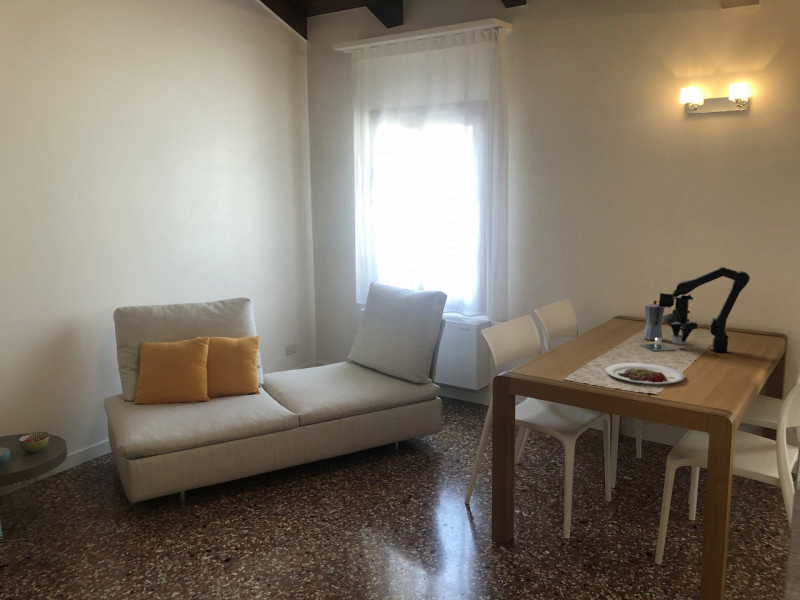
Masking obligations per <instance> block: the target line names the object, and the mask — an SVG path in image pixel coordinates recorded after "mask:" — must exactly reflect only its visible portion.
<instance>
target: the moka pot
mask: <svg viewBox="0 0 800 600" xmlns="http://www.w3.org/2000/svg"><path fill="white" fill-rule="evenodd" d="M657 302H658V301H657V300H653V303H651V304H646V305H644V311H645V321H646V324H645V329H644V335H643V339H645V340H649V341H655V338H656V337H660V338H662V339H663V330H662V321H663V316H664V314H665V313H664V312H665V308H666V307H659V303H658V304H657Z"/></svg>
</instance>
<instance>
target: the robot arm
mask: <svg viewBox="0 0 800 600" xmlns="http://www.w3.org/2000/svg"><path fill="white" fill-rule="evenodd" d="M721 277H723V278H724V277H725V278H727V279H729V280H732V284H731V288H730V291H729V292H728V294H727V297H726V299H725V301H724V303H723V305H722V307H721V309H720V311H719V314H718V315H717V316H716V317H714V316H712V318H711V322H710V323H709V324H708V326H709V331H710V334H711V335H712V336H714V337H713V339H712V348H709V351H711V352H714V353H717V354H725V353H731V351H730V350H728V347H729V346H728V344H729V340H728V339H729V334H728V332H727V331H726V325H727V320H728V317H729V315H730V313H731V311H732V309H733V308H734V306H735V304H736V301H737V299H738V297H739V295H740V293H741V292H742V290H744V288H745V287H746V286H748V284H749V282H750V279H751V278H750V275H749V274H748V273H747V272H746V271H744V270H740V271H737V270H732V269H730V268H726V267H725V266H720V267H719V268H717V269H714V270H712V271H710V272H708V273H705V274H702V275H701V276H698V277H695V278H693V279H687V280H683V281H680V282H678V283H677V284H676V289H674V291H673V292H672V293H664V292H660V293H659V299H658V305H659V307H665V308H668V309H669V308H672V306H674V305H675V306H674V309H673V310H672V313H668V314H666V315H663V319H662V321H663V324H666V325H668V326H669V327H671V330H672V333H673V335H680V331H681V335H682V341H683V342H685V340H686V339H687V340H688V337H689V336H690V334H691V333H692V331H694V330H698V323H697V322H695V321H690V319H689V318H688V317H689V316H688V315H689V314H690V313H691V310H689V302H690V300H691V301H693V300H694V297H693V296H691V294H690V293H691V292H692V291H694V290H695V289H696V288H698V287H700V286H702V285H705V284H707V283H709V282H712V281H714V280H716V279H717V280H718V279H719V278H721ZM673 335H672V336H673Z"/></svg>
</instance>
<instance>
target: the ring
mask: <svg viewBox="0 0 800 600" xmlns="http://www.w3.org/2000/svg"><path fill="white" fill-rule="evenodd" d="M671 343H673V344H677V345H678V344H679V345H680V344H681V345H682V344H685V345H686V344H687V343H688V338H687V339H686V340H685V342H683V341H682V334H678V335H672V336H671Z"/></svg>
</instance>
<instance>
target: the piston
mask: <svg viewBox="0 0 800 600" xmlns="http://www.w3.org/2000/svg"><path fill="white" fill-rule="evenodd" d="M662 341H663V337H662V338H660V337H656V338H655V340H654V343H647V344H646V343H645V344H639V346H640V347H642V348H644V349H647V350H649V351H651V352H670V351H671V352H673V351H677V348H674V347H672V346H669V345H667V344H664V343H663V342H662Z"/></svg>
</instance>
